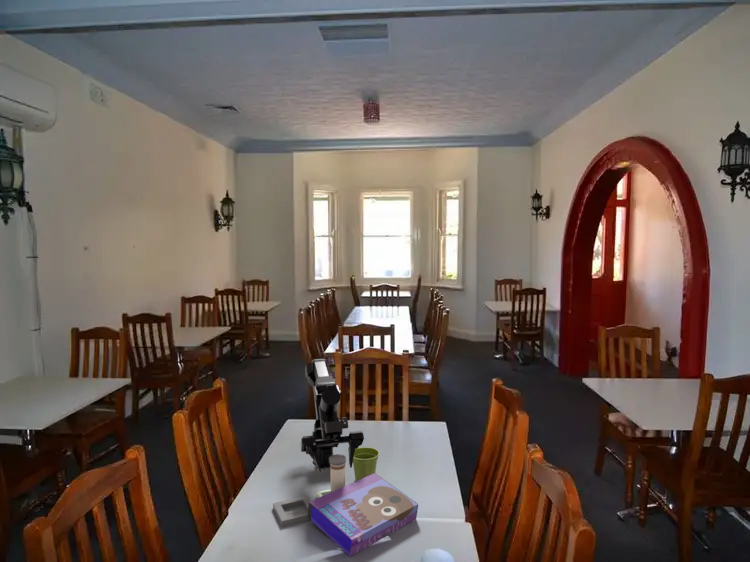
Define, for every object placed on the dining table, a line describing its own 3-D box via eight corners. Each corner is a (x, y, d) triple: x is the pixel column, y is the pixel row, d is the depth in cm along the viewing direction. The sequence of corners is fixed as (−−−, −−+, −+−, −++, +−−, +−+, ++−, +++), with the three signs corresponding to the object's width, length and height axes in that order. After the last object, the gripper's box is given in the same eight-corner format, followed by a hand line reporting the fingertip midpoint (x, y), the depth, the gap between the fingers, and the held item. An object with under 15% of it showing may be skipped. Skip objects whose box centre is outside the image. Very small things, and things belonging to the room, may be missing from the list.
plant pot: (345, 475, 170) (345, 449, 169) (372, 470, 173) (372, 444, 173) (356, 488, 161) (356, 461, 160) (384, 482, 165) (384, 456, 164)
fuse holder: (273, 511, 148) (273, 503, 148) (307, 503, 152) (307, 495, 152) (281, 530, 139) (281, 521, 139) (318, 521, 143) (317, 512, 143)
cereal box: (418, 504, 143) (351, 540, 127) (416, 519, 144) (349, 557, 128) (374, 472, 155) (308, 502, 139) (373, 487, 156) (307, 518, 140)
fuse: (326, 501, 152) (325, 458, 151) (338, 495, 155) (337, 453, 154) (337, 507, 149) (337, 462, 148) (349, 501, 152) (349, 457, 151)
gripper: (300, 410, 155) (305, 463, 146) (362, 405, 160) (371, 455, 151) (298, 426, 164) (303, 476, 155) (357, 420, 168) (365, 469, 159)
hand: (335, 469), depth 155 cm, fingers open, 9 cm apart
